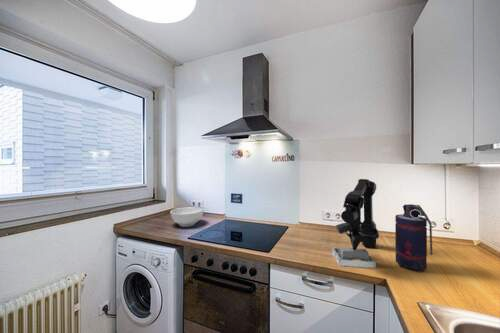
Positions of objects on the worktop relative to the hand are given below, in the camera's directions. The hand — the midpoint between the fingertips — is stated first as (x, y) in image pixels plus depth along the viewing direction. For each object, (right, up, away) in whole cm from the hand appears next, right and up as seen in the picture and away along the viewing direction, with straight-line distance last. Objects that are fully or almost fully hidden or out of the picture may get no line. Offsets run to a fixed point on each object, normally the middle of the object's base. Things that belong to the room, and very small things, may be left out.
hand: (354, 249), depth 99 cm
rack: (+1, -7, +3) cm, 8 cm away
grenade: (+27, -7, -4) cm, 28 cm away
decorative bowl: (-105, -7, +65) cm, 124 cm away
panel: (0, -6, 0) cm, 6 cm away
